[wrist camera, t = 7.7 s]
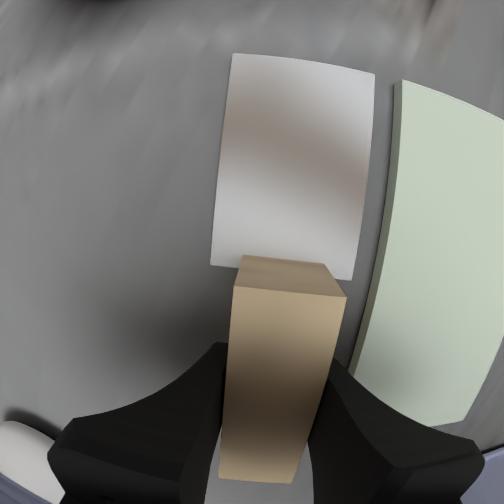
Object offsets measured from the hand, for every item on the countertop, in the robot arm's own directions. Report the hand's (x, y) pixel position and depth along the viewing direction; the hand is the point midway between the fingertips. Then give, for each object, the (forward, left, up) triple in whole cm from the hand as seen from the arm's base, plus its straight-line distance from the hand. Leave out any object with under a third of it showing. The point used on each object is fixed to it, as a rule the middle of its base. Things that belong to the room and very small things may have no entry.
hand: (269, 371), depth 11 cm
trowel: (0, 0, -1) cm, 1 cm away
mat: (+3, -8, -1) cm, 8 cm away
